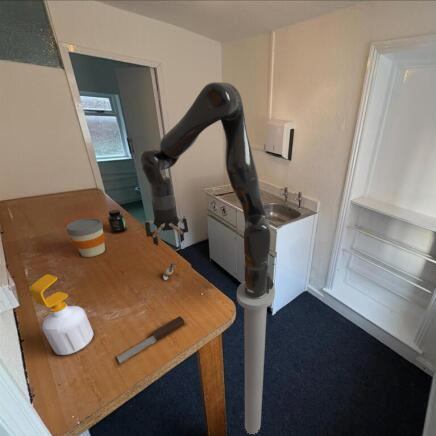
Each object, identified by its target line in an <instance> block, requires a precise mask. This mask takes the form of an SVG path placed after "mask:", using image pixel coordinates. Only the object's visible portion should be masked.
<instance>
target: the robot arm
mask: <svg viewBox="0 0 436 436" xmlns="http://www.w3.org/2000/svg"><path fill="white" fill-rule="evenodd" d="M219 121H220V123H221V125H222V129H223V133H224V139H225V152H224V153H225V155H224V161H225V162H224V163H225V170H226V174H227V176H228V180H229V183H230V186H231V188H232V190H233V192H234V194H235V196H236V198H237V199H238V201H239V203H240V205H241V208H242V212H243V218H244V231H243V254H244V281H245V290H244V292H245V295H246V296H247V297H248V298H250V299H261V298H263V297H264V296H266V294H269V288H270V289H272V288H273V286H274V287H275V283H274V282H273V280H272V278H271V275H270V272H269V267H270V265H269V264H270V253H271V241H272V240H271V238H272V236H271V235H272V233H271V224H270V221H269V219H268V216H267V213H266V210H265V207H264V204H263V200H262V195H261V194H262V193H261V186H260V185H261V184H260V179H259V175H258V170H257V167H256V163H255V159H254V155H253V151H252V147H251V143H250V140H249V136H248V131H247V124H246V117H245V110H244V104H243V99H242V96H241V94H240V91H239V89H238V88H237V87H236V86H235V85H234V84H232V83H229V82H218V81H215V82H214V81H213V82H210V83H207V84H205V85H204V87H203V88H202V89H201V90H200V92H199V94H197V96H196V98H195V100H194V101H193V102H192V104H191V106H190V107H189V108H188V110H187V111H186V112H185V114H184V115H183V116H182V118H181V119H180V120H179V121H178V122H177V123H176V124H175V125H174V126H173V127H172V128H171V129H170V130H169V131H168V132H167V133H165V135H164V136H162V138H161V140H160V141H159V147H157V148H152V149H147V150H143V151H142V152H141V154H140V155H139V165H140V167H141V170H142V172H143V173H144V175H145V178H146V179H147V182H148V183H149V189H150V196H151V197H150V199H151V207H152V211H153V219H154V220H150V219H146V220H145V221H144V226H145V234H146V237H147V238H150V237H151V238H152V241H153V244H154V245H156V246H159V238H158V235H159V234H160V232H161V231H163V232H166V231H173V230H174V231H175V232H178V233H179V239H180V243H183V242H184V241H185V235H184V234H185V233H189V227H188V222H187V221H188V220H187V216H183V217H178V212H177V205H176V198H175V195H174V194H175V193H174V187H173V181H172V179H171V177H170V176H167V175H163V174H162V172H161V171H164V170H167V169H170V168H172V167H173V166H175V165H176V163H177V162H178V161H179V159H180V157H181V156H182V155H184V153H185V152H187V150H189V149H190V148H192V146H193V145H194V143H195V142H196V141H197V140H198V138H199V136H200V135H201V133H203V131H204V130H206V129H207V128H209V127H210V126H212V125H214V124H216V123H217V122H219ZM179 222H180V223H181V224H183V228H182V226H180V225H179ZM153 225H154V226H156V227H155V229H154V230H153V231H151V227H152V226H153Z"/></svg>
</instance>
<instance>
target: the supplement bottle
mask: <svg viewBox="0 0 436 436" xmlns="http://www.w3.org/2000/svg"><path fill="white" fill-rule="evenodd" d="M108 215H109V216H108V217H107V220H108V224H109V228H110V230H111V232H112V234H121V233H124V232H125V231H127V226H126V221H125V217H124V215H123V214H121V211H120V210H119V209H112V210H111V209H110V210H109V211H108Z"/></svg>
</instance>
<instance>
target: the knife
mask: <svg viewBox="0 0 436 436" xmlns="http://www.w3.org/2000/svg"><path fill="white" fill-rule="evenodd" d="M183 326H185V320H184V318H182V316H181V315H179V316H178V317H175V318H174V319H172V320H171V321H169V322H167V323H165V324H163V325H161V326H160V327H158V328H157V329H155V330H153V331H152V335H151V336H150V337H148V338H146V339H145V340H143V341H141V342H139V343H138V344H136V345H135V346H133V347H131V348H129V349H128V350H126V351H124V352H122V353H121V354H119V355H117V356H116V359H117V361H118V363H119V364H122V363H124V362H125V361H127V360H128V359H130V358H132V357H134V356H136V355H137V354H138V353H140V352H142V351H143V350H145V349H147V348H148V347H150V346H152V345H154V344H155V343H157V342H158V341H159V342H160V340H162V339H164V338H165V337H167V336H169V335H170V334H172V333H173V332H175V331H177V330H178V329H180V328H181V327H183Z"/></svg>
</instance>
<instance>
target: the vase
mask: <svg viewBox="0 0 436 436" xmlns="http://www.w3.org/2000/svg"><path fill="white" fill-rule="evenodd" d="M175 267H176V268H177V264H176V263H175V262H171V263H170V266H167V267H165V269H164V272H163V274H162V275H163V276H162V277H163V281H167V280H169V276H172V274H173V273H174V271H175V270H174V268H175Z"/></svg>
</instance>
